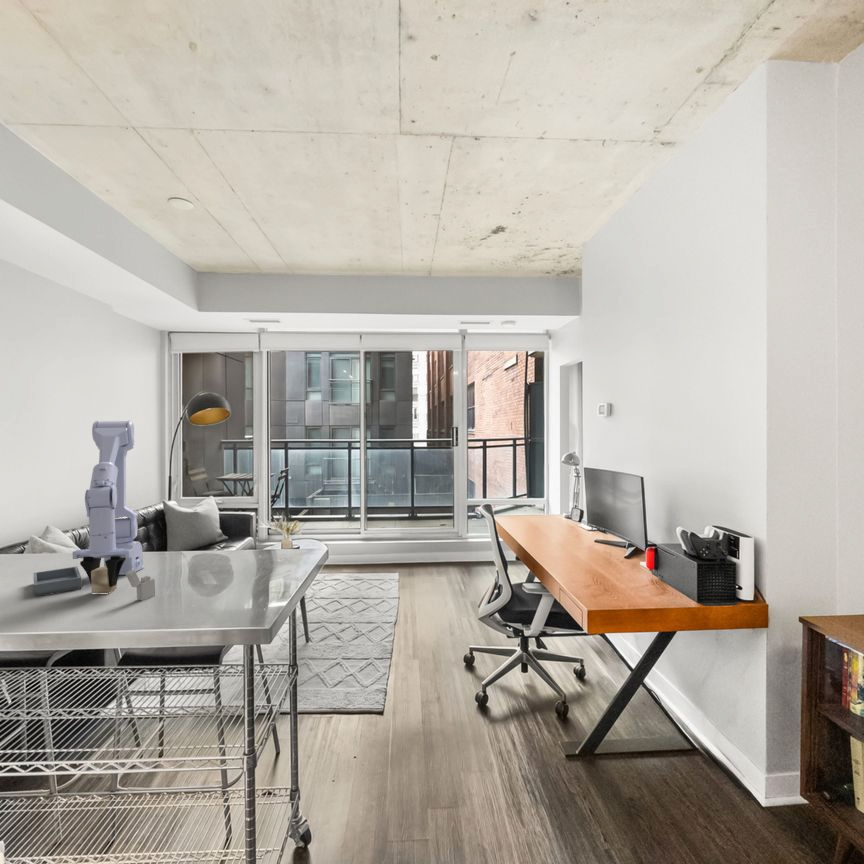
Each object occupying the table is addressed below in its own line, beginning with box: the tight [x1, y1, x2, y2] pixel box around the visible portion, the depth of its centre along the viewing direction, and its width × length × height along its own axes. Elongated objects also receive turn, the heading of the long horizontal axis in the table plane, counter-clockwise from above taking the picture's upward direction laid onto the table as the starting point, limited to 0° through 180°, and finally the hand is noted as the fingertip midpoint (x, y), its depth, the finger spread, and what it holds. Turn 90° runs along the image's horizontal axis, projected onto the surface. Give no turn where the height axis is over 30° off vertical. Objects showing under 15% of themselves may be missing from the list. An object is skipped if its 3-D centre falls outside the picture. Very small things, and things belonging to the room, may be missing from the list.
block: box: [90, 566, 118, 594], centre depth 140 cm, size 4×4×6 cm
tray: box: [33, 566, 83, 598], centre depth 145 cm, size 10×14×3 cm
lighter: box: [124, 570, 156, 601], centre depth 133 cm, size 7×2×8 cm, turn 160°
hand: (104, 585), depth 140 cm, fingers closed on block, 4 cm apart
